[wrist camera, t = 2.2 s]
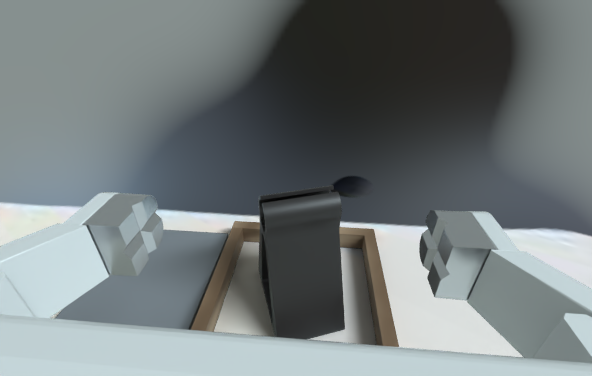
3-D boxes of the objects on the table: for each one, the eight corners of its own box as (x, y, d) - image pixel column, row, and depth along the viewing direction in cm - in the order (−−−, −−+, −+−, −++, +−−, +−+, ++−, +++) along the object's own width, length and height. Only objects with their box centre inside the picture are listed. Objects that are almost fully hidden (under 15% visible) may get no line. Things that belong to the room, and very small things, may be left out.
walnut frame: (179, 385, 23) (173, 371, 22) (236, 234, 38) (234, 221, 36) (402, 406, 22) (408, 392, 21) (371, 242, 37) (373, 229, 35)
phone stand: (344, 331, 27) (361, 223, 20) (277, 349, 25) (273, 238, 19) (312, 259, 34) (317, 163, 28) (258, 270, 33) (251, 171, 26)
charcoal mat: (45, 338, 26) (42, 333, 26) (133, 231, 38) (131, 227, 37) (183, 349, 25) (181, 345, 25) (228, 237, 37) (227, 233, 37)
